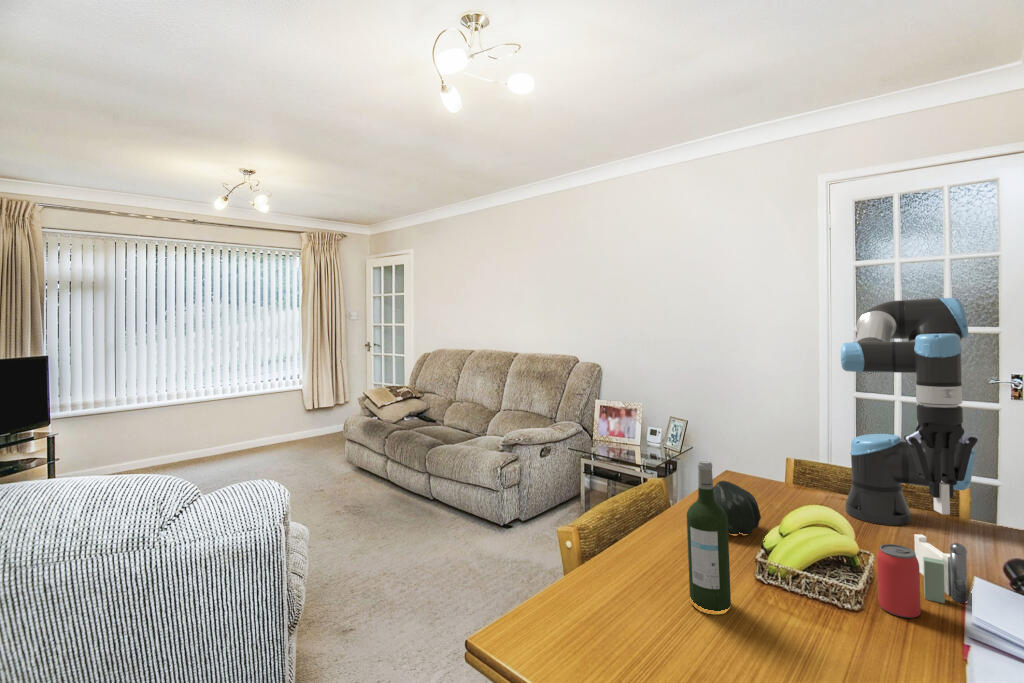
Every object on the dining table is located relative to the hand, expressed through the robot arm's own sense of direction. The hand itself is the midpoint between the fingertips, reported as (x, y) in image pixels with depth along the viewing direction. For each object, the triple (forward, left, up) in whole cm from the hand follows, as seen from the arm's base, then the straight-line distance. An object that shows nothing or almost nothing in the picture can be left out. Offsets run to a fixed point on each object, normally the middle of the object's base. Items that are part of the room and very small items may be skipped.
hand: (941, 512), depth 106 cm
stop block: (+11, -2, -15) cm, 18 cm away
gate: (+2, -2, -15) cm, 15 cm away
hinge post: (+9, +2, -15) cm, 17 cm away
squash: (-4, -44, -15) cm, 47 cm away
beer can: (+19, -8, -15) cm, 26 cm away
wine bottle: (+36, -40, -15) cm, 56 cm away
